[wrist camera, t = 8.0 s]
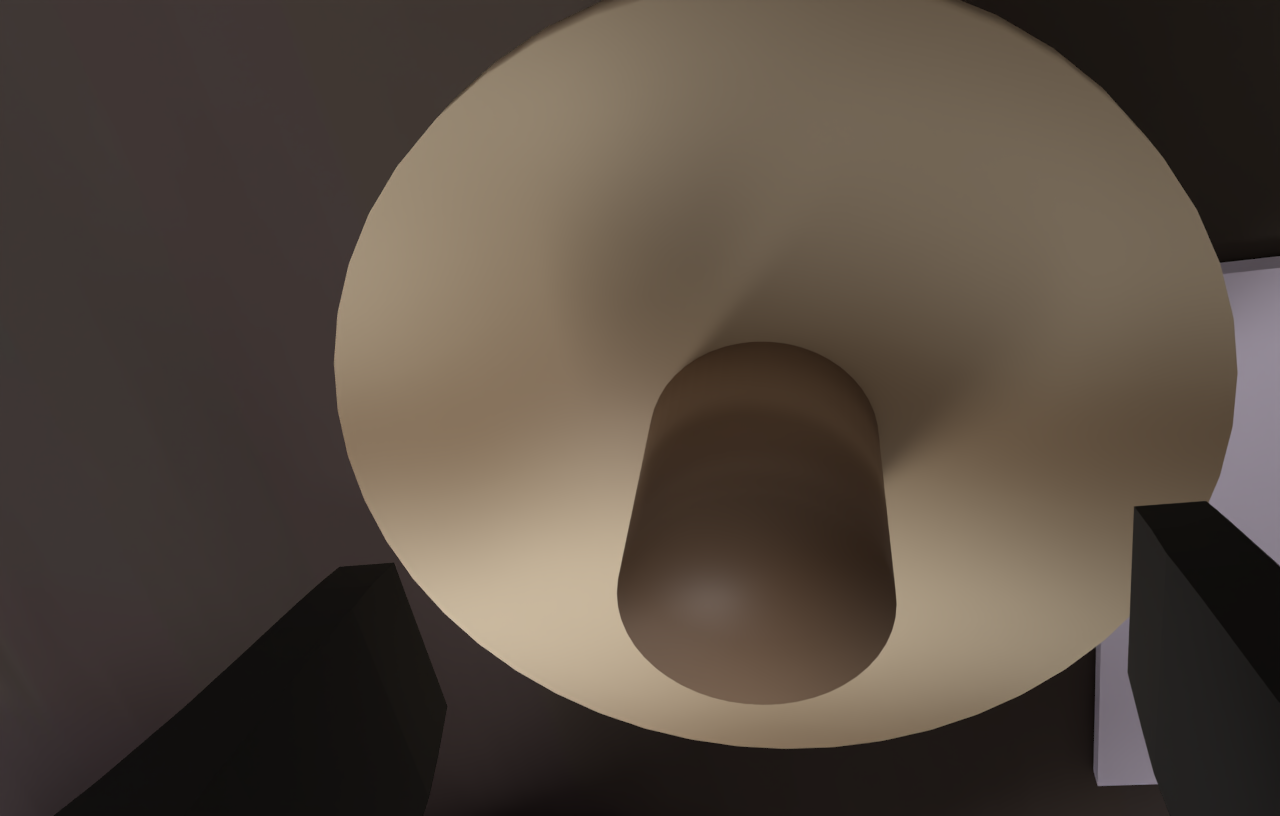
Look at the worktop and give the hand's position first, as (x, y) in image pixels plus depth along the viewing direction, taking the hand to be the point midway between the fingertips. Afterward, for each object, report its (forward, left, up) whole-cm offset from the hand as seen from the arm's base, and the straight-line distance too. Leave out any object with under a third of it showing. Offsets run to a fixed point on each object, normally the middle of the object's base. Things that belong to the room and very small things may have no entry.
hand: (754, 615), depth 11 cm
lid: (0, 0, -5) cm, 5 cm away
